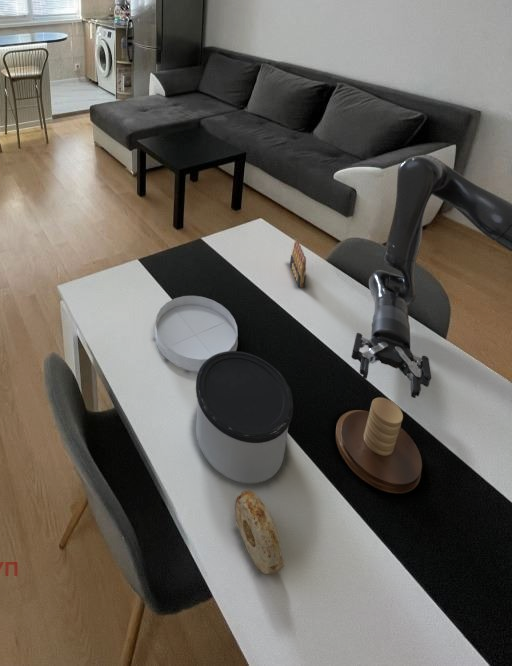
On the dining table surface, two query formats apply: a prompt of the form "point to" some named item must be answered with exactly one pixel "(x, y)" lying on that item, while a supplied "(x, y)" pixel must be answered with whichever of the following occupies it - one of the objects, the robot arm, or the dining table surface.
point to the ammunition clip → (298, 264)
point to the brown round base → (378, 456)
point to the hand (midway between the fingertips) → (389, 384)
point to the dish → (194, 331)
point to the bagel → (258, 532)
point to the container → (242, 415)
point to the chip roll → (383, 426)
